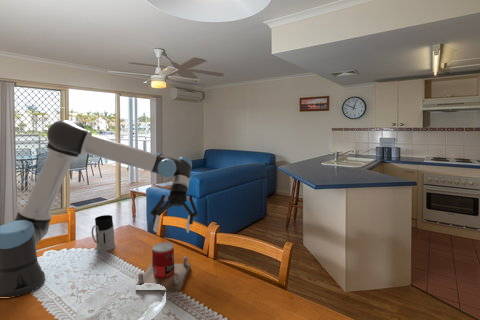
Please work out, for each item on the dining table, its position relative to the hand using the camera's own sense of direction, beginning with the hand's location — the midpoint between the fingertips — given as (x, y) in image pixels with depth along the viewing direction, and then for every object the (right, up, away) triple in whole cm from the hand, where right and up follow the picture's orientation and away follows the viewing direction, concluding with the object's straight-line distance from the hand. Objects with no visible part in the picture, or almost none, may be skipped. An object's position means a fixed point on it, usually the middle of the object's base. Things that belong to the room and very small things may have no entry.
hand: (171, 231), depth 114 cm
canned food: (-1, -14, -8) cm, 16 cm away
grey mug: (-37, -14, +18) cm, 44 cm away
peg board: (0, -16, -8) cm, 18 cm away
